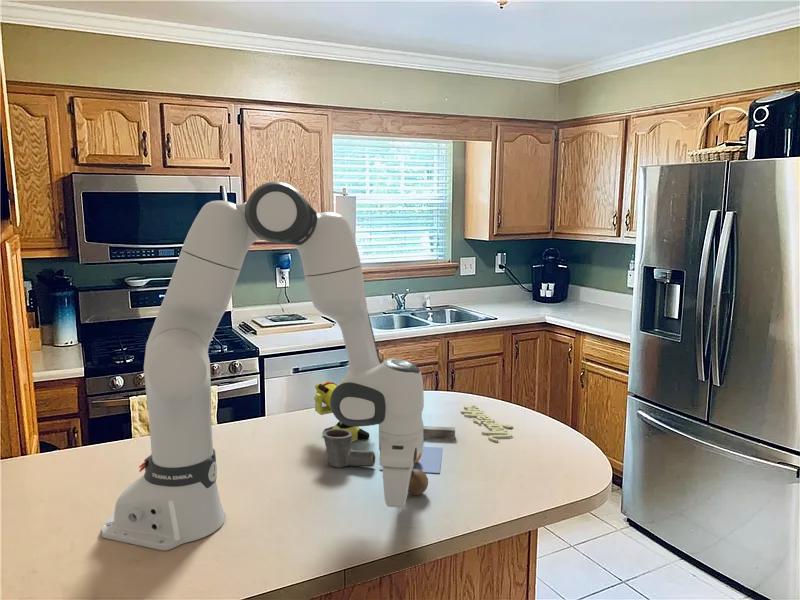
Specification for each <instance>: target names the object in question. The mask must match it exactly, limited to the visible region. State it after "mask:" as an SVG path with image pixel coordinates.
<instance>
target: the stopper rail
mask: <svg viewBox="0 0 800 600" xmlns="http://www.w3.org/2000/svg"><path fill="white" fill-rule="evenodd" d="M423 426H424V428H423V439H437V440H456V427H450V426H434V425H433V426H431V425H430V426H428V425H423Z"/></svg>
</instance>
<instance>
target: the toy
mask: <svg viewBox="0 0 800 600" xmlns="http://www.w3.org/2000/svg"><path fill="white" fill-rule="evenodd" d="M343 379H344V378H342V379H340V382H341V381H342V380H343ZM340 382H339V383H340ZM337 385H338V384H336V383H335V382H332V381H325V382H322V383H318V382H317V383H316V384H315V386H314V388H315V390H316V393H315V395H314V398H313V400H314V402H315V404H314V411H315V412H316V413H318V414H319V415H320V416H323V415H327V414H333V412H332V410H331V406H330V398H331V394H332V392H333V390H334V389H335V388H336V386H337ZM323 404H324V406H323ZM330 429H344V430H348V431H350V432H351V433H352V438H351V442H355V441H357V440H358V441H359V440H361V441H368V440H369V439H370V433H369V432H368V431H366V430H364V429H363V428H361V427H360V426H359V427H352V426H347V425H345V424H343V423H341V422H340V421H339V420H338V422H337V423H336V424H335V425H334V426H331V427H326V428H324V430H323V431H326V430H330Z"/></svg>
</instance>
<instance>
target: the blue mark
mask: <svg viewBox="0 0 800 600" xmlns="http://www.w3.org/2000/svg"><path fill="white" fill-rule="evenodd" d="M442 455H443V447H438V446H437V447H436V446H435V447H434V446H423V451H422V455H421V458H420V460H419V461H418V462H416V463H415V464H414V466H413V469H419V470H421V471H423V472H424V473H425V474H435V473H436V474H437V475H439V474H440V473H441V465H442V457H443V456H442ZM381 470H383V466H380V467H379V471H381Z"/></svg>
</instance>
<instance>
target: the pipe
mask: <svg viewBox="0 0 800 600" xmlns="http://www.w3.org/2000/svg"><path fill="white" fill-rule="evenodd" d="M321 434H322V437H323V440H324V444H325V448H326V449H325V450H326V461H327V464H328V465H329V466H331V467H333V468H344V467H348V466H349V467H363V468H364V467H366V468H368V467H369V468H371V467H373V468H374V465H375V464H376V455H375V454H376V453H375V452H374V451H373V450H364V449H363V450H360V449H359V450H357V449H356V450H355V449H352V441H351V438H352V433H351V432H350V431H348V430H344V429H330V430H326V431H324V430H322V433H321Z"/></svg>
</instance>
